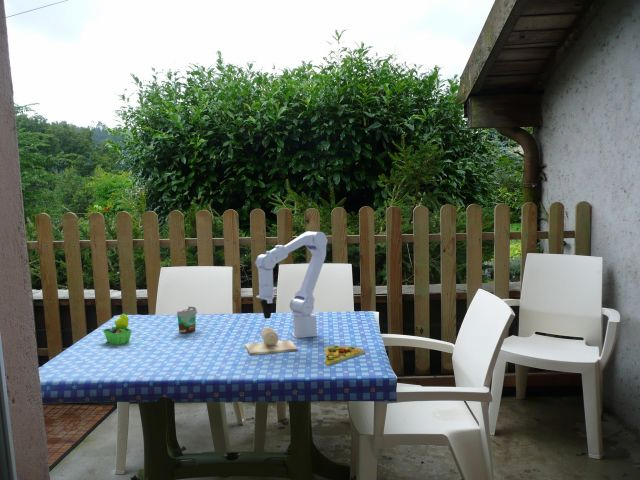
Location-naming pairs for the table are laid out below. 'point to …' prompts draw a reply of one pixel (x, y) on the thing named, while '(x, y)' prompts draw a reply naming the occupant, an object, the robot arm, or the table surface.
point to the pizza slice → (341, 353)
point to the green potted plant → (119, 331)
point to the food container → (187, 320)
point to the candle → (269, 336)
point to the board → (270, 347)
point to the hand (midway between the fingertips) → (267, 318)
